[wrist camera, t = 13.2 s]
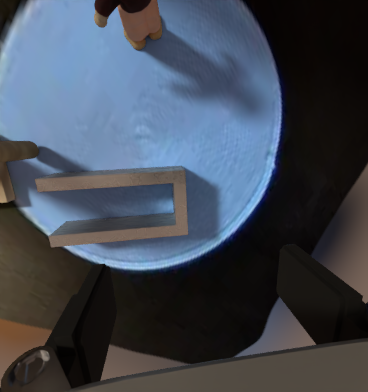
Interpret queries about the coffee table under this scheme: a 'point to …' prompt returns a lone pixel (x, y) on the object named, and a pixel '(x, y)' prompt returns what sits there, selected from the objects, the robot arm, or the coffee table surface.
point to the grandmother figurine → (132, 19)
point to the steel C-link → (120, 226)
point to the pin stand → (13, 151)
